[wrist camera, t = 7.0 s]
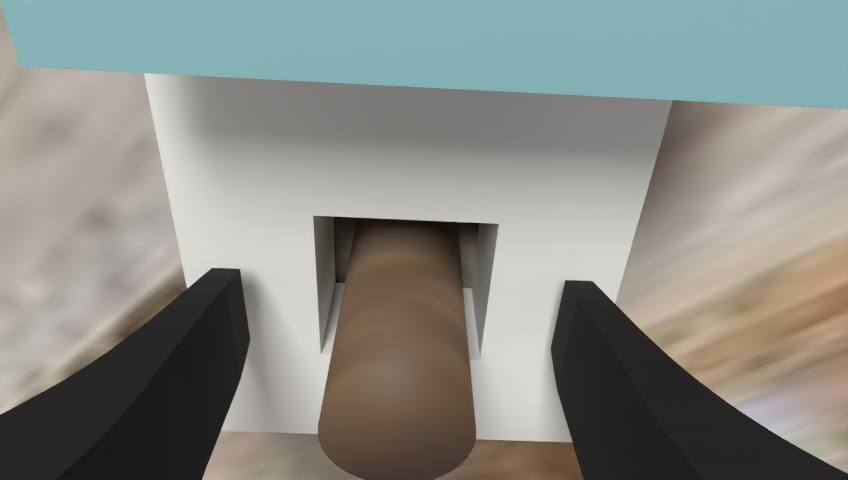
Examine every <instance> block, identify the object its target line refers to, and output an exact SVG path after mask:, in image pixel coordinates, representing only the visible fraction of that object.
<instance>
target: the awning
mask: <svg viewBox="0 0 848 480" xmlns="http://www.w3.org/2000/svg"><path fill="white" fill-rule="evenodd" d="M0 1H1V4H2V8H3V11H4V14H5V17H6V20H7V24H8V27H9V30H10V33H11V37H12V40H13V43H14V46H15V49H16V53H17V56H18V59H19V62H20V65H21V67H35V68H54V69H74V70H93V71H113V72H132V73H152V74H172V75H191V76H211V77H230V78H250V79H269V80H289V81H308V82H328V83H347V84H367V85H387V86H406V87H426V88H445V89H465V90H484V91H504V92H523V93H543V94H563V95H582V96H602V97H621V98H641V99H660V100H680V101H699V102H719V103H739V104H758V105H778V106H797V107H817V108H836V109H848V0H0Z"/></svg>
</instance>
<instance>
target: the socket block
mask: <svg viewBox="0 0 848 480" xmlns="http://www.w3.org/2000/svg"><path fill="white" fill-rule="evenodd" d="M144 76H145V81H146V86H147V91H148V96H149V101H150V106H151V111H152V116H153V121H154V126H155V131H156V136H157V141H158V146H159V151H160V156H161V161H162V166H163V171H164V176H165V181H166V186H167V191H168V196H169V201H170V206H171V210H172V215H173V220H174V225H175V230H176V235H177V240H178V245H179V250H180V255H181V260H182V265H183V270H184V275H185V280H186V285H187V289H188V288H189V287H190V286H191V285H192V284H193V283H195V282H196V281H197V280H198V279H199V278H200V277H202V276H203V275H204V274H205V273H206V272H208V271H209V270H210V269H211V268H233V269H240V273H241V279H242V286H243V293H244V300H245V306H246V313H247V320H248V327H249V333H250V343H249V348H248V352H247V356H246V361H245V364H244V368H243V372H242V376H241V380H240V383H239V385H238V388H237V390H236V393H235V396H234V398H233V401H232V403H231V406H230V409H229V411H228V414H227V416H226V419H225V421H224V424H223V426H222V429H221V431H240V432H270V433H301V434H318V422H319V417H320V412H321V406H322V401H323V396H324V391H325V385H326V380H327V375H328V370H329V364H330V359H331V354H332V348H333V343H334V338H335V333H336V327H337V322H338V317H339V312H340V306H341V301H342V296H343V291H344V285H345V283H335V254H334V224H333V216H334V217H357V218H379V219H402V220H425V221H447V222H470V223H479V229H478V237H477V246H476V254H475V263H474V271H473V279H472V288H463V295H464V305H465V316H466V327H467V337H468V348H469V359H470V370H471V380H472V391H473V402H474V412H475V423H476V439H484V440H514V441H545V442H572V439H571V435H570V432H569V429H568V425H567V422H566V419H565V415H564V412H563V408H562V405H561V402H560V398H559V395H558V391H557V387H556V381H555V375H554V369H553V362H552V355H551V344H552V340H553V335H554V330H555V326H556V321H557V316H558V312H559V307H560V302H561V298H562V293H563V288H564V284H565V280H578V281H593V282H594V283H595V284H596V285H597V286H598V287H599V288H600V289H601V290H602V291H603V292H604V293H605V294H606V295H607V296H608V297H609V298H610V299H611V300H612V301H613V302H614V303H615V302H616V298H617V295H618V291H619V288H620V284H621V281H622V277H623V274H624V270H625V267H626V263H627V260H628V256H629V253H630V249H631V246H632V242H633V239H634V235H635V232H636V228H637V225H638V221H639V218H640V214H641V211H642V207H643V204H644V200H645V197H646V193H647V190H648V187H649V183H650V180H651V176H652V173H653V169H654V166H655V162H656V159H657V155H658V152H659V148H660V145H661V141H662V138H663V134H664V131H665V127H666V124H667V120H668V117H669V113H670V110H671V106H672V103H673V100H660V99H641V98H621V97H602V96H582V95H563V94H543V93H523V92H504V91H484V90H465V89H445V88H426V87H406V86H387V85H367V84H347V83H328V82H308V81H289V80H269V79H250V78H230V77H211V76H191V75H172V74H152V73H144Z"/></svg>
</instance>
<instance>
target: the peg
mask: <svg viewBox="0 0 848 480" xmlns="http://www.w3.org/2000/svg"><path fill="white" fill-rule="evenodd" d="M318 438H319V441H320V444H321V447H322V448H323V450H324V452H325V453H326V455H327V456H328V457H329V458H330V459H331V460H332V461H333V462H334V463H335V464H336V465H337V466H339V467H340V468H341V469H343V470H345V471H346V472H348V473H350V474H352V475H354V476H356V477H359V478H362V479H365V480H433V479H435V478H438V477H441V476H443V475H445V474H447V473H449V472H450V471H452V470H454V469H455V468H456V467H458V466H459V465H460V464H461V463H462V462H463V461H464V460H465V459H466V458H467V457H468V455H469V454H470V452H471V451H472V449H473V446H474V444H475V440H476V423H475V412H474V402H473V391H472V380H471V370H470V359H469V348H468V337H467V327H466V316H465V305H464V295H463V284H462V273H461V262H460V252H459V241H458V230H457V222H447V221H425V220H402V219H379V218H357V222H356V227H355V233H354V238H353V243H352V248H351V254H350V259H349V264H348V270H347V275H346V280H345V285H344V291H343V296H342V301H341V306H340V312H339V317H338V322H337V327H336V333H335V338H334V343H333V348H332V354H331V359H330V364H329V370H328V375H327V380H326V385H325V391H324V396H323V401H322V406H321V412H320V417H319V422H318Z"/></svg>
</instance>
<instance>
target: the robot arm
mask: <svg viewBox="0 0 848 480" xmlns="http://www.w3.org/2000/svg"><path fill="white" fill-rule="evenodd" d="M249 343H250V333H249V327H248V320H247V313H246V306H245V300H244V293H243V286H242V279H241V273H240V269H233V268H211V269H210V270H209V271H208V272H206V273H205V274H204V275H203V276H202V277H200V278H199V279H198V280H197V281H196V282H195V283H193V284H192V285H191V286H190V287H189V288H188V289H186V290H185V291H184V292H183V293H182V294H181V295H179V296H178V297H177V298H176V299H175V300H174V301H172V302H171V303H170V304H169V305H168V306H166V307H165V308H164V309H163V310H162V311H160V312H159V313H158V314H157V315H156V316H154V317H153V318H152V319H151V320H149V321H148V322H147V323H146V324H144V325H143V326H142V327H140V328H139V329H138V330H136V331H135V332H134V333H132V334H131V335H130V336H128V337H127V338H126V339H124V340H123V341H122V342H120V343H119V344H118V345H116V346H115V347H114V348H112V349H111V350H110V351H108V352H107V353H105V354H104V355H102V356H101V357H99V358H98V359H97V360H95V361H94V362H92V363H91V364H89V365H87V366H86V367H84V368H83V369H81V370H79V371H78V372H76V373H75V374H73V375H71V376H70V377H68V378H67V379H65V380H63V381H62V382H60V383H58V384H57V385H55V386H53V387H51V388H49V389H47V390H46V391H44V392H42V393H40V394H38V395H36V396H35V397H33V398H31V399H29V400H27V401H25V402H24V403H22V404H20V405H18V406H16V407H14V408H13V409H11V410H9V411H7V412H5V413H3V414H1V415H0V480H202V478H203V475H204V472H205V469H206V466H207V464H208V461H209V459H210V456H211V454H212V451H213V449H214V446H215V444H216V441H217V439H218V436H219V434H220V431H221V429H222V426H223V424H224V421H225V419H226V416H227V414H228V411H229V409H230V406H231V403H232V401H233V398H234V396H235V393H236V390H237V388H238V385H239V383H240V380H241V376H242V372H243V368H244V364H245V361H246V356H247V352H248V348H249ZM551 355H552V362H553V369H554V375H555V381H556V387H557V391H558V395H559V398H560V402H561V405H562V408H563V412H564V415H565V419H566V422H567V425H568V429H569V432H570V435H571V439H572V442H573V445H574V448H575V452H576V455H577V458H578V462H579V465H580V468H581V472H582V475H583V478H584V480H848V473H845V472H843V471H841V470H839V469H837V468H835V467H833V466H831V465H829V464H828V463H826V462H824V461H822V460H820V459H818V458H817V457H815V456H813V455H811V454H809V453H807V452H806V451H804V450H802V449H800V448H798V447H797V446H795V445H793V444H791V443H790V442H788V441H786V440H785V439H783V438H781V437H779V436H778V435H776V434H774V433H773V432H771V431H770V430H768V429H767V428H765V427H763V426H762V425H760V424H759V423H757V422H756V421H754V420H752V419H751V418H749V417H748V416H746V415H745V414H743V413H742V412H740V411H739V410H737V409H736V408H734V407H733V406H731V405H730V404H729V403H727V402H726V401H724V400H723V399H722V398H720V397H719V396H718V395H716V394H715V393H714V392H712V391H711V390H710V389H708V388H707V387H706V386H704V385H703V384H702V383H700V382H699V381H698V380H697V379H695V378H694V377H693V376H692V375H690V374H689V373H688V372H687V371H685V370H684V369H683V368H682V367H681V366H680V365H678V364H677V363H676V362H675V361H674V360H673V359H672V358H670V357H669V356H668V355H667V354H666V353H665V352H664V351H662V350H661V349H660V348H659V347H658V346H657V345H656V344H655V343H654V342H653V341H652V340H651V339H650V338H649V337H647V336H646V335H645V334H644V333H643V332H642V331H641V330H640V329H639V328H638V327H637V326H636V325H635V324H634V323H633V322H632V321H631V320H630V319H629V318H628V317H627V316H626V315H625V314H624V313H623V312H622V311H621V310H620V309H619V308H618V307H617V306H616V304H615V303H614V302H613V301H612V300H611V299H610V298H609V297H608V296H607V295H606V294H605V293H604V292H603V291H602V290H601V289H600V288H599V287H598V286H597V285H596V284H595V283H594V282H593V281H578V280H565V284H564V288H563V293H562V298H561V302H560V307H559V312H558V316H557V321H556V326H555V330H554V335H553V340H552V344H551Z"/></svg>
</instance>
